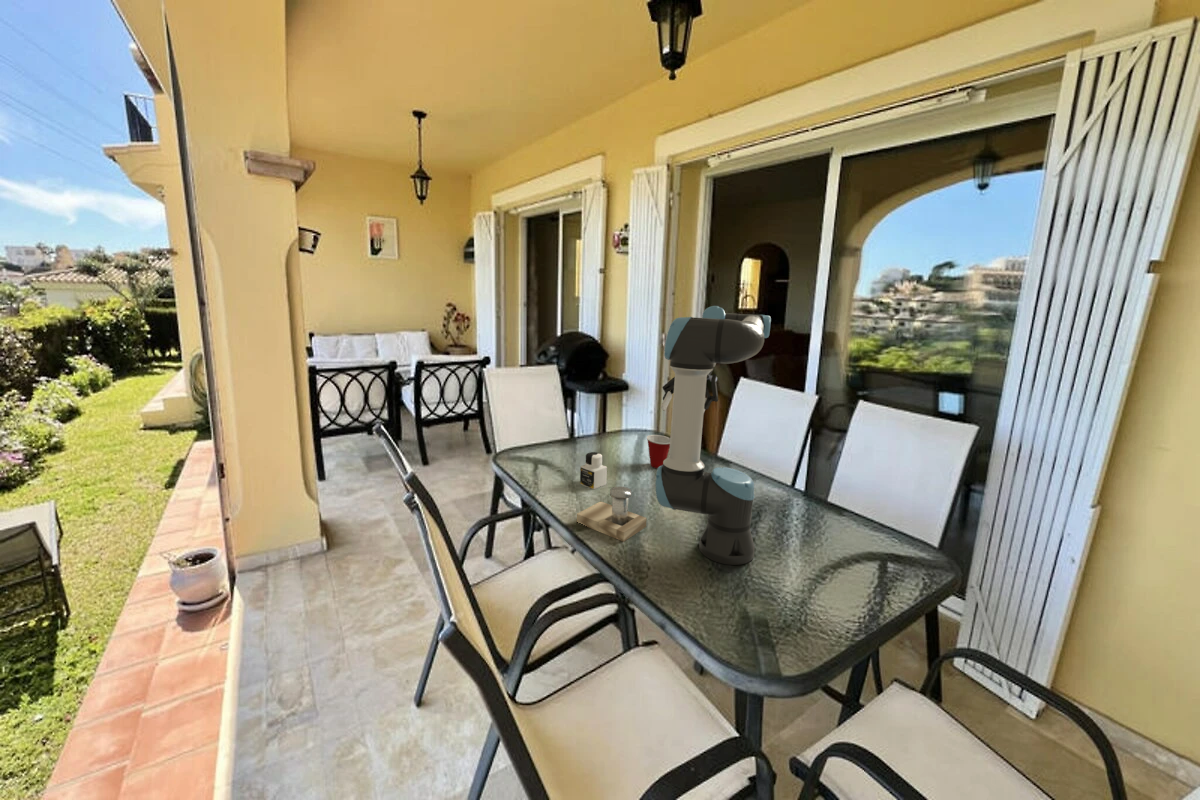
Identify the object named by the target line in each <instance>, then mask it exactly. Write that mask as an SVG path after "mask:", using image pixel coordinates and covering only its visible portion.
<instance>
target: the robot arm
mask: <svg viewBox="0 0 1200 800" xmlns="http://www.w3.org/2000/svg"><path fill="white" fill-rule="evenodd" d="M771 322H772V318H771V316H770V315H765V314H750V313H749V314H748V313H747V314H746V313H745V314H743V313H741V314H740V313H729V312H728V313H727V312H725V310H724V308H723V307H720V306H719V305H712V306H709V307H706V308H705V310H704V311H703V313H702V316H701V317H693V316H688V317H687V316H685V317H682V316H681V317H676V318H675V319H674V320H672V322H671V324H670V326H669V327H668V331H667V334H666V338H665V344H664V355H663V356H664V358H665V359H666V360H667V361H669V367H670V368H671V370H672V371H673V372H674V376H673V378H671V379H670V380H669V381H668V382H667V383H665V384H664V385H663V386H662V390H663V392H664V395H663V397H662V400H663V401H662V402H661V405H660V408H661V410H662V412H666V410H667V408H668V406H669V405H670V403H671V400H672V408H671V409H672V411H671V423H670V424H671V425H670V437H669V438H670V448H669V452H668V456H667V458H666V459H665V460H664V461H663V465H662V466H659V467H658V468H656V469H657V470H656V473H655V475H656V476H655V485H654V486H655V496H656V500H657V502H658V504H659V505H660V506H661V507H664V508H668V509H672V510H674V511H675V510H676V511H677V510H678V511H682V512H688V513H695V514H701V515H707V516H708V517H707V523H706V525H705V527H704V529H703V531H702V533H701V536H700V538H699V544H698V545H699V546H698V549H699V551H700V553H701V554H702V555H704V557H706V558H707V559H709V560H711V561H713V562H715V563H719V564H724V565H729V566H730V565H731V566H734V565H735V566H740V565H743V564H744V565H745V564H748V563H750V562H751V561H752V560H753V559H754V557H755V542H754V540H753V535H752V531H751V524H752V513H753V505H754V500H755V483H754V480H753V479H752V477H751V476H750V475H748V474H747V473H745V472H743V471H741V470H738V469H736V468H735V469H734V468H730V467H725V466H723V467H721V466H720V467H719V466H718V467H715V468H713V469H712V470H711V472H708V471H707V472H706V471H705V468H706V467H705V464H704V462H703V461H702V460H701V450H702V449H701V448H702V437H703V436H702V435H703V425H704V415H705V411H706V410H709V407H710V406H711V404H712V403H713V402H715V403H717V402H718V401H719V393H718V386H717V385H718V384H717V383H718V381H719V379H718V377H717V374H716V373H714V374H713V371H714V369H715V367H716V364H724V365H725V364H726V365H727V364H728V365H729V364H734V363H735V364H736V363H739V362H743V361H746V360H749V359H750V358H752V357H754V356H756V355H757V354H758V353H759V352H760V351H761V350H762V348H763V346H764V343H765V339H767V338H769V336H770V334H771V333H770V331H771ZM708 381H710V383H711V384H710V385H711V392H712V394H710V392H709V389H708V387H707V382H708ZM672 398H673V399H672Z"/></svg>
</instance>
